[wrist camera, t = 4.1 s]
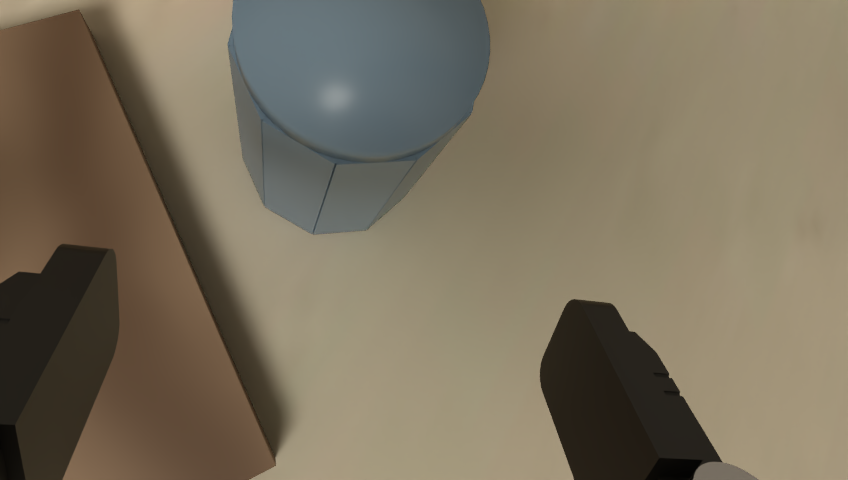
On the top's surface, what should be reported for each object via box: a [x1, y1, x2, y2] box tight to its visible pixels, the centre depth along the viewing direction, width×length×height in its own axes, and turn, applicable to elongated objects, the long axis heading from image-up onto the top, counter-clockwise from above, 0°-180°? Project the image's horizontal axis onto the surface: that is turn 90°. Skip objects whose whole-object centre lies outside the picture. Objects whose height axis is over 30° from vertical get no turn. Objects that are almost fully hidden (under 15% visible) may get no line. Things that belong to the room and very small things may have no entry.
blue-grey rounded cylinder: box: [228, 0, 490, 234], centre depth 19 cm, size 6×6×9 cm
